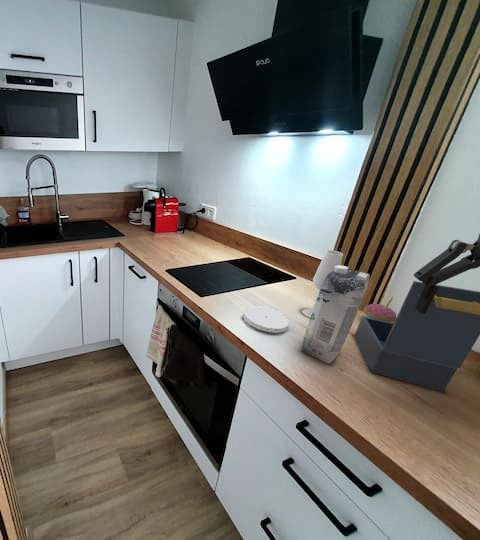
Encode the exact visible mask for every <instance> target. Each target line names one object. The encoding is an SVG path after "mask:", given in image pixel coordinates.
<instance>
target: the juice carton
mask: <svg viewBox="0 0 480 540" xmlns="http://www.w3.org/2000/svg"><path fill="white" fill-rule="evenodd" d="M370 276H371V274H370V273H367V272H364V271H360V270H356V269H352V268H349V267H348V266H346V265H342V264H341V265H340V266H339V265H337V266H335V268H334V269H333V271H332V272H330V273H329V274H328V275H327V277H326V279H325V280H324V282H323V284H322V287H321V289H320V292H319V291H318V292H319V295H318V294H317V295H318V298H317V300H316V299H315V300H316V303H315V302H314V303H315V306H314V305H313V306H314V309H313V308H312V309H313V312H312V315H311V318H310V317H309V321H308V323H307V326H306V328H305V332H304V335H303V339H302V345H301V351H302V353H304V354H306V355H308V356H310V357H313V358H316V359H317V360H319V361H322V362H324V363H326V364H332V362H333V361H334V360H335V359H336V357H338V355H339V353H340V352H341V350H342V348H343V346H344V345H345V342H346V341H347V337H348V335H349V333H350V331H351V328H352V326H353V324H354V321H355V319H356V316H357V314H358V311H359V309H360V307H361V304H362V302H363V300H364V298H365V295H366V293H367V289H368V286H369V282H370Z"/></svg>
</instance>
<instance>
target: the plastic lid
mask: <svg viewBox="0 0 480 540" xmlns="http://www.w3.org/2000/svg"><path fill="white" fill-rule="evenodd" d="M243 319H244V321H245V322H246V323H247V324H248V325H250V326H251V327H253V328H255V329H257V330H259V331H263V332H266V333H274V334H275V333H276V334H280V333H284V332H286V331H287V330H288V328H289V325H290V320H289V319H288V317H287V316H286V315H284V313H281V312H280V311H278V310H276V309H273V308H270V307H266V306H259V305H252V306H248V307H247V308H245V309H244V311H243Z"/></svg>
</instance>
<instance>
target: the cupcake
mask: <svg viewBox="0 0 480 540" xmlns="http://www.w3.org/2000/svg"><path fill="white" fill-rule="evenodd" d="M393 298H394V296H392V297H389V299H388V301H387V302H386V304H385V305H384V304H379V303H370V304H366V305H365V306H364V307H363V311H364V314H365V315H366V317H368V318H372V319H377V320H382V321H386V322H391V323H393V322H395V320H396V318H397V316H398V314H397V313H396V311H394V310H393V309H392V308H391V307H389V305H390V304H391V302H392V301H393Z"/></svg>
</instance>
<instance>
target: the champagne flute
mask: <svg viewBox="0 0 480 540" xmlns="http://www.w3.org/2000/svg"><path fill="white" fill-rule="evenodd" d="M343 257H344V253H343V252H340V251H337V250H333V249H332V250H330V249H327V250H325V252H324V254H323V257H322V259H321V260H320V263H319V265H318V267H317V270H316V272H315V274H314V276H313V278H312V283H313V286H314V287H315V288H316V289H317V294H316V298H315V301H314V303H313V306H312V308H306V309H305V308H304V309H302V311H301V312H302V314H303V315H304V316H305V317H307V318H309V319H310V318H311V315H312V312H313V309H314V306H315V303H316V300H317V298H318V295H319V292H320V289H321V287H322V284H323V282H324V280H325V279H326V277H327V275H328V274H329V273H330V272H332V271H333V269H334V268H335V266H337V265H339V266H341V265H342V260H343Z"/></svg>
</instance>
